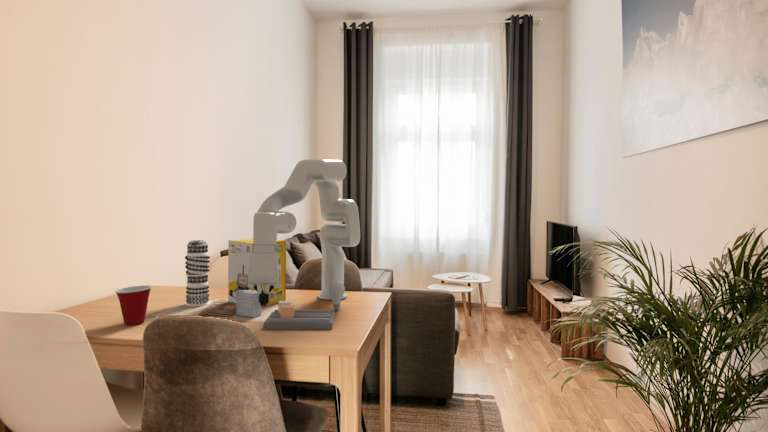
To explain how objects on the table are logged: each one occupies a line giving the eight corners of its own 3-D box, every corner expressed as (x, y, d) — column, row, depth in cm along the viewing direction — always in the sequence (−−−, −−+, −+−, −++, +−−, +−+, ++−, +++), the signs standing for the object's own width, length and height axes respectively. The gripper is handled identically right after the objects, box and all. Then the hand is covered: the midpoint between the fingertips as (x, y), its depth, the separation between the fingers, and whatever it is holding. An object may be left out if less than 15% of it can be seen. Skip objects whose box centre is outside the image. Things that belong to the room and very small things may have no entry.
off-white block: (279, 312, 160) (279, 300, 160) (291, 312, 160) (291, 300, 160) (278, 314, 157) (278, 302, 157) (290, 314, 157) (290, 302, 157)
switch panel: (272, 317, 163) (272, 308, 163) (334, 317, 164) (334, 308, 164) (263, 329, 148) (263, 319, 148) (332, 329, 149) (332, 320, 149)
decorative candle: (189, 307, 174) (189, 242, 173) (181, 303, 181) (181, 240, 180) (213, 304, 180) (213, 241, 179) (204, 300, 187) (205, 239, 186)
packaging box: (228, 301, 186) (228, 240, 185) (262, 295, 198) (262, 238, 197) (251, 308, 175) (251, 243, 174) (285, 301, 187) (286, 240, 187)
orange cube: (282, 317, 153) (282, 305, 153) (294, 317, 154) (294, 305, 153) (280, 319, 150) (280, 307, 150) (292, 319, 150) (293, 307, 150)
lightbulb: (341, 312, 171) (342, 283, 170) (326, 311, 172) (326, 282, 171) (346, 308, 177) (346, 280, 176) (331, 307, 178) (331, 279, 177)
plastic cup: (127, 318, 158) (127, 283, 157) (158, 319, 157) (158, 284, 157) (107, 327, 147) (107, 290, 146) (140, 328, 146) (140, 290, 146)
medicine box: (261, 315, 165) (261, 291, 165) (253, 318, 161) (253, 293, 161) (244, 312, 168) (244, 289, 168) (235, 315, 164) (235, 291, 164)
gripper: (289, 249, 155) (288, 303, 155) (244, 248, 154) (243, 302, 154) (285, 251, 147) (284, 308, 148) (238, 250, 146) (237, 307, 147)
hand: (263, 305), depth 151 cm, fingers closed
